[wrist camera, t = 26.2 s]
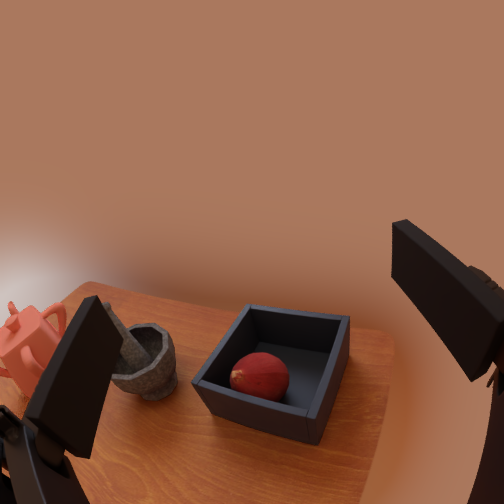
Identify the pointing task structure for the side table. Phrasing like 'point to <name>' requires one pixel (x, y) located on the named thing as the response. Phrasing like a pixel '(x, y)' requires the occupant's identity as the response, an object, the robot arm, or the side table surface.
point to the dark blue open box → (296, 361)
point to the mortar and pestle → (144, 360)
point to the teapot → (29, 344)
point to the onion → (260, 376)
